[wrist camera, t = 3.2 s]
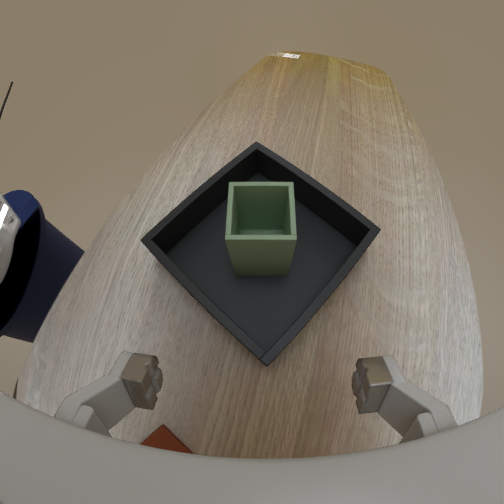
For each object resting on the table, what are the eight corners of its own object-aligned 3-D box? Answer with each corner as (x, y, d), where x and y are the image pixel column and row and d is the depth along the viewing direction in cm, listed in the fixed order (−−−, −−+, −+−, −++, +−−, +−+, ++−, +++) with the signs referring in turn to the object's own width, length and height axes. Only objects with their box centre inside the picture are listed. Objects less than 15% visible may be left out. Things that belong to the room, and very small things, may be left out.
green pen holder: (235, 275, 27) (224, 239, 20) (237, 228, 29) (229, 181, 22) (287, 275, 27) (296, 239, 20) (286, 229, 29) (293, 181, 22)
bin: (156, 258, 29) (140, 239, 25) (257, 167, 33) (256, 141, 29) (266, 366, 24) (267, 366, 20) (366, 249, 28) (381, 229, 24)
